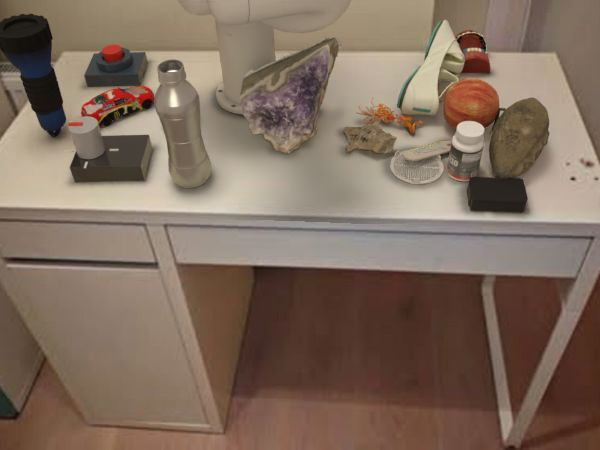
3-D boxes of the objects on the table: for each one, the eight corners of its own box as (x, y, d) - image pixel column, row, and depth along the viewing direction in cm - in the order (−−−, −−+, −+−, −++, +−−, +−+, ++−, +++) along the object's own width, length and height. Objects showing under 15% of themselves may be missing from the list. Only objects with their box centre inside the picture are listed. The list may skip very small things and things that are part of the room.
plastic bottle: (216, 166, 104) (199, 53, 90) (208, 194, 99) (188, 80, 85) (177, 165, 105) (153, 52, 91) (166, 193, 100) (140, 79, 86)
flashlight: (81, 116, 115) (47, 9, 101) (83, 142, 110) (47, 33, 96) (34, 124, 114) (-7, 17, 100) (34, 151, 108) (-10, 41, 94)
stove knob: (108, 141, 105) (100, 114, 101) (102, 159, 101) (93, 131, 98) (80, 142, 105) (71, 114, 101) (74, 159, 102) (64, 132, 98)
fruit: (452, 98, 100) (517, 105, 100) (448, 62, 107) (509, 70, 107) (439, 141, 106) (500, 148, 106) (436, 105, 113) (493, 112, 113)
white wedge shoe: (433, 47, 126) (473, 58, 125) (392, 125, 112) (436, 138, 110) (441, 9, 120) (484, 20, 118) (398, 86, 106) (445, 100, 104)
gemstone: (235, 127, 113) (249, 169, 102) (227, 38, 104) (242, 74, 93) (335, 114, 116) (359, 153, 106) (336, 27, 107) (363, 59, 96)
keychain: (450, 137, 107) (463, 145, 105) (450, 140, 107) (462, 148, 105) (398, 150, 102) (410, 158, 100) (398, 153, 103) (410, 162, 100)
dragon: (417, 141, 108) (417, 127, 105) (352, 127, 112) (351, 113, 108) (424, 122, 110) (425, 107, 107) (360, 108, 113) (359, 94, 110)
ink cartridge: (520, 189, 98) (466, 187, 98) (523, 178, 96) (468, 176, 97) (525, 213, 94) (468, 211, 95) (528, 202, 93) (470, 200, 93)
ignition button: (125, 52, 124) (123, 44, 122) (121, 62, 121) (119, 53, 120) (106, 52, 124) (104, 44, 123) (102, 62, 121) (99, 54, 120)
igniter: (147, 62, 128) (143, 44, 125) (140, 85, 122) (136, 66, 119) (96, 64, 128) (91, 45, 125) (87, 86, 122) (81, 67, 119)
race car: (147, 92, 120) (143, 73, 118) (161, 105, 117) (157, 85, 114) (79, 118, 115) (73, 98, 112) (92, 132, 112) (86, 112, 109)
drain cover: (388, 182, 100) (388, 177, 99) (391, 148, 106) (392, 143, 105) (443, 186, 99) (444, 181, 98) (443, 152, 105) (444, 147, 104)
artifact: (354, 110, 110) (400, 125, 103) (358, 124, 112) (405, 139, 105) (326, 138, 107) (372, 155, 101) (331, 151, 109) (377, 169, 103)
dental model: (457, 51, 117) (452, 24, 124) (452, 77, 120) (447, 50, 128) (497, 53, 116) (489, 26, 124) (490, 79, 120) (484, 51, 127)
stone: (539, 195, 96) (537, 153, 91) (478, 190, 100) (474, 149, 95) (558, 123, 106) (558, 82, 101) (502, 122, 110) (499, 82, 105)
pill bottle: (443, 164, 103) (450, 120, 97) (473, 161, 103) (481, 117, 97) (450, 183, 99) (458, 139, 94) (481, 181, 100) (490, 136, 94)
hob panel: (153, 148, 108) (149, 132, 106) (144, 182, 102) (140, 166, 100) (76, 149, 108) (71, 134, 106) (62, 183, 102) (56, 168, 100)
